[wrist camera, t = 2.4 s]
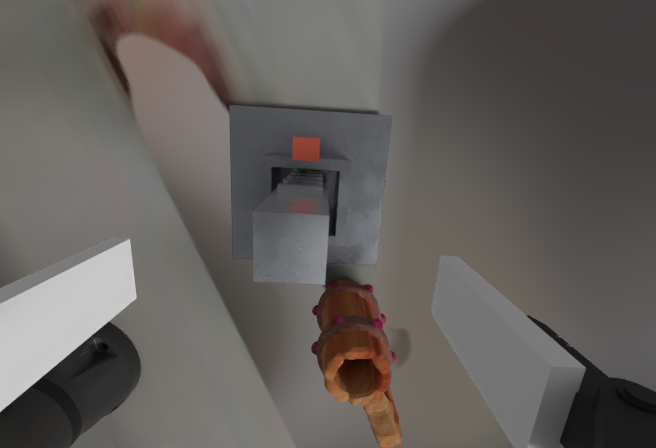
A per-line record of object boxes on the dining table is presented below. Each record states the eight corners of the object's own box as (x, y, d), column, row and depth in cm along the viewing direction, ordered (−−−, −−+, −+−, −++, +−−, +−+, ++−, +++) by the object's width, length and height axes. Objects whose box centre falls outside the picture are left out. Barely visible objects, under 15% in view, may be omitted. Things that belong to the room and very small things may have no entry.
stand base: (234, 255, 39) (209, 288, 30) (232, 105, 34) (201, 93, 26) (374, 262, 40) (389, 296, 31) (390, 116, 35) (412, 108, 26)
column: (290, 207, 36) (253, 281, 17) (291, 167, 35) (252, 200, 16) (323, 208, 36) (325, 284, 17) (326, 170, 35) (330, 204, 16)
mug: (304, 282, 40) (293, 362, 26) (361, 259, 39) (384, 327, 25) (347, 367, 44) (359, 479, 29) (400, 347, 43) (440, 452, 28)
